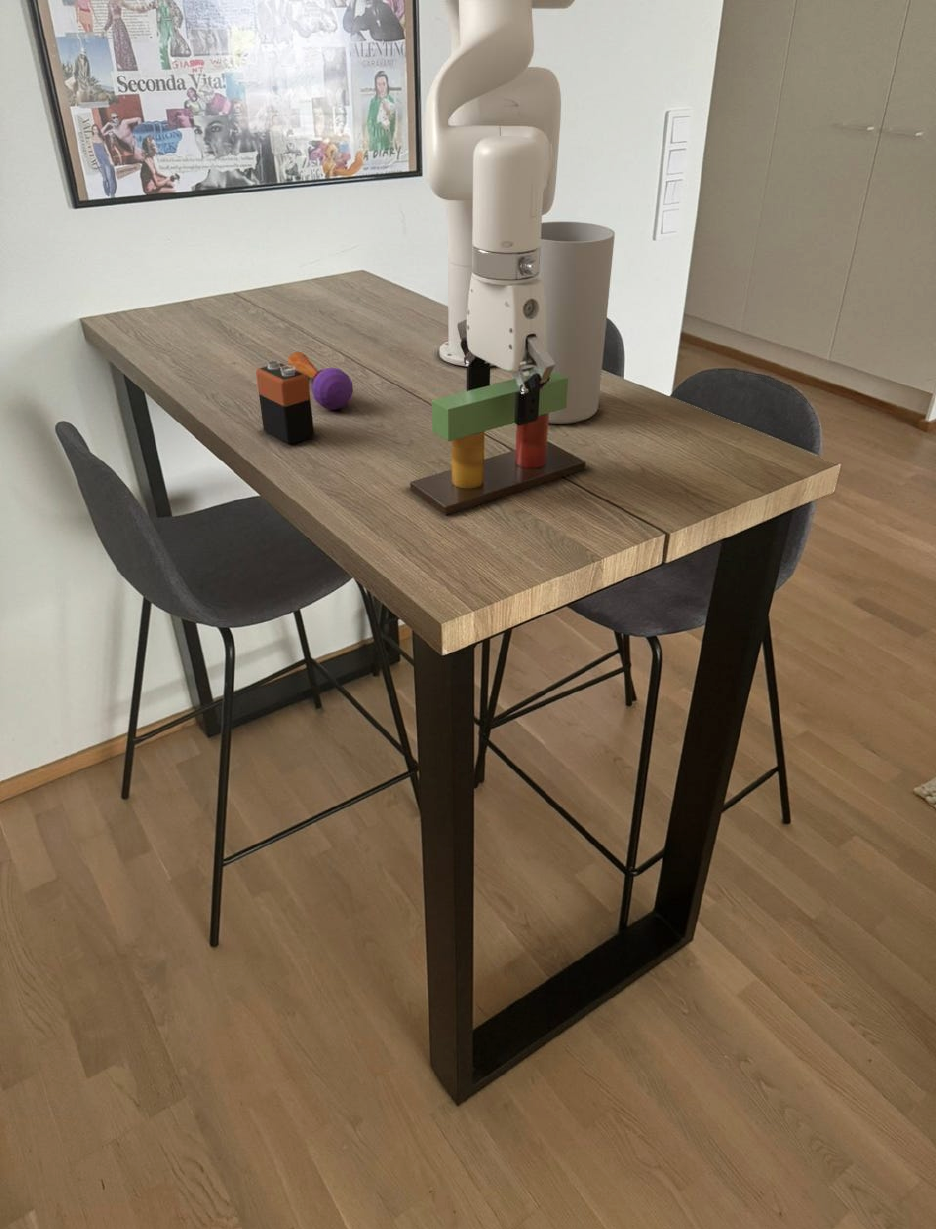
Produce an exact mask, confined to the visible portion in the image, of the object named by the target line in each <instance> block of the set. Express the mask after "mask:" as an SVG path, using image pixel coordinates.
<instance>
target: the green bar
mask: <svg viewBox="0 0 936 1229" xmlns="http://www.w3.org/2000/svg"><path fill="white" fill-rule="evenodd" d="M530 377H531V376H530V375H528V376H525V379H526V381H527V380H528V379H529V378H530ZM567 390H568V378H567V377H565V376H563V375H561V374H559V373H556V372H554V371H552V372H551V374H550V376H549V381H548V382H547V383H546V384H545V385H544V388H543V389H542V390H540V398H539V416H541V415H544V414H548V413H551V412H555V411H558V410H562V409H565V408H566V403H567ZM519 391H520V390H519V388H518V385H517V383H516V380H515V378H512V379H509V380H505V381H501V382H496V383H493V384H490V385H489V386H485V387H481V388H477V389H473V390H469V391H467V390H465V391H462V392H457V393H454V394H450V395H446V396H441V397H438V398H434V399H431V430H432V431H431V432H432V433H434V434H436V435H437V436H438V437H440V438H442V439H444V440H445V441H446V442H451V441H452V440H456V439H459V438H463V437H466V436H470V435H473V434H477V433H480V432H484V431H485V432H487V431H490V430H494V429H498V428H502V427H505V426H508V425H512V424H515V422H514V416H515V394H516V392H519Z"/></svg>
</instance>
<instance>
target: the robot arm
mask: <svg viewBox="0 0 936 1229" xmlns="http://www.w3.org/2000/svg"><path fill="white" fill-rule="evenodd" d="M441 1H442V4H443V7H444V10H445V14H446V17H447V20H448V26H449V29H450V40H451V41H450V44H451V45H450V50H451V51H450V56H449V57H448V58H447V59H446V61H445V62H444V64H443V65H442V66H441V67H440V69H439V71H438V72H437V73H436V75H435V77H434V79H433V81H432V84H431V85H430V88H429V91H428V95H427V97H426V103H425V109H424V152H425V153H424V156H425V172H426V179H427V182H428V185H429V187H430V189H431V191H432V192H433V194H435V195H436V196H437V197H438V198H440V199H442V200H443V203H444V209H445V218H446V219H445V220H446V228H447V229H446V232H447V234H446V235H447V287H448V288H447V291H448V292H447V299H448V300H447V301H448V303H447V304H448V305H447V306H448V309H447V310H448V312H447V313H448V315H447V317H448V318H447V320H448V321H447V322H448V341H446V342H444V343H442V344H441V346H440V347H439V357H440V359H442V360H443V361H445V362H447V363H449V364H451V365H454V366H460V367H466V391H469V390H473V389H477V388H481V387H485V386H489V385H491V367H496V368H499V369H502V370H503V371H506V372H508V373H511V374H512V375H513V377H514V378H513V379H515V380H516V383H517V385H518V388H519V390H520V391H519V392H516V394H515V416H514V422H515V423H514V424H515V425H516V426H517V425H518V426H520V425H523V424H527V423H530V422H534V421H537V420H538V416H539V398H540V390H542V389H543V388H544V385H545V384H546V383H547V382H548V381H549V376H550V374H551V372H552V370H553V368H554V366H555V362H554V360H553V359H552V357H551V356H550V355H549V353H548V352H547V351H546V332H547V331H546V304H545V294H544V287H543V281H542V280H541V279H539V270H540V249H541V226H542V223H543V216H544V215H546V214H547V213H548V212H550V210H551V209H552V207H553V205H554V204H553V203H554V200H555V194H556V185H557V174H558V158H559V144H560V131H561V120H562V119H561V118H562V117H561V115H562V94H561V88H560V83H559V79H558V78H557V76H556V74H555V73H554V72H553V71H552V70H550V69H548V68H546V67H540V66H529V65H530V64H531V61H532V59H533V57H534V52H535V37H534V23H533V22H534V21H533V9H534V10H536V9H540V10H541V9H544V10H545V9H547V10H553V9H555V10H559V9H561V10H563V9H568V8H570V7H571V6H572V5H573V4H574V2H575V1H576V0H441ZM450 119H452V125H450V123H449V120H450ZM523 361H524V362H526V363H527V364H523V365H520V362H523ZM526 371H529V374H530V376H531V377H530V378H529V379H528V380H527V381H526V379H525V376H524V374H523V372H526Z"/></svg>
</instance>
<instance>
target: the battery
mask: <svg viewBox="0 0 936 1229" xmlns="http://www.w3.org/2000/svg"><path fill="white" fill-rule="evenodd" d="M267 364H268V365H267V366H263V367H259V368H257V369H256V370H255V374H256V382H257V389H258V396H259V397H258V398H259V404H260V405H259V406H260V412H261V421H262V427H263V431H264V432H266V433H267V434H269V435H271V436H273V437H275V438H277V439H278V440H280V441H282V442H284V443H286V444H287V445H294V444H297V443H300V442H302V441H306V440H309V439H312V438H313V437H314V436H315V432H314V422H313V412H312V402H311V401H312V400H311V392H310V391H311V389H310V382H309V381H310V380H309V379H310V378H308V375H307V374H305V373H303V372H300V371H298V370H296V369H295V367H294V366H289V365H287V364H285V363H283V362H280V361H279V360H270V361H268V362H267Z"/></svg>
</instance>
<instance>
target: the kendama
mask: <svg viewBox="0 0 936 1229" xmlns="http://www.w3.org/2000/svg"><path fill="white" fill-rule="evenodd" d="M287 364H288V366H294V367H295V369H296V370H298V371H300V372H303V373H305V374H307V375H308V379H311V380H312V381H311V392H312V396H313V399H314V400H315V402H316V403H317V404H319V405H320V406H321V407H323V408H324V409H326V410H330V411H333V410H334V411H335V410H339V409H342V408H343V407H345V406H346V405H348V404H349V402H350V401H351V400H352V396H353V393H354V389H353V388H354V387H353V381H352V380H351V378H350V376H349V375H348V374H347V373H345V371H343V370H341V369H340V368H336V367H328V368H327V367H326V368H324V369H320V370H319V371H318V369H317V368H316V367H315V366H314V365H313V363H312V361H311V360H310V359H309V358H308V356H307V355H306V354H305V353H304V352H303V351H302V352H301V351H295V352H293V353H291V354H290V355H289V357H288V361H287Z"/></svg>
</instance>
